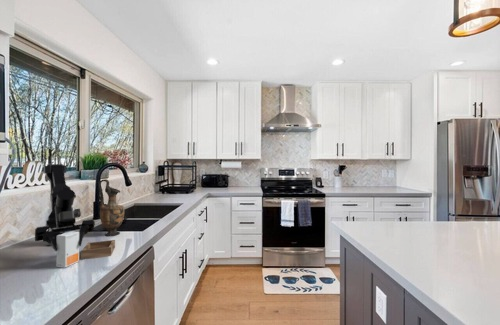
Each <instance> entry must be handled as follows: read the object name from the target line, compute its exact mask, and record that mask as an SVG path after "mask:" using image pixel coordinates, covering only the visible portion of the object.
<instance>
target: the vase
mask: <svg viewBox="0 0 500 325" xmlns="http://www.w3.org/2000/svg"><path fill="white" fill-rule="evenodd" d="M103 182H105V183H106V184H105V187H104V188H105V189H104V192H105V193H106V194H107V196H108V200H107V201H108V202H107V204H106V205H105V202H104V201H105V200H104V193H103V188H102V183H103ZM97 185H98V192H99V198H100V204H99V220H100V222H101V225H102V226H103V227H104V228H105V229H107V233H105V234H104V236H105V237H114V236H118V235H120V234H121V233H120V231H118V228H119V227H120V226H121V225H122V223H123V222H124V218H125V207H124V205H120V204H118V203H117V195H118V194H121V190H120V189H117V188H115V187H112V186H110V181H109V180H108V179H101V180H99V182H98V183H97Z"/></svg>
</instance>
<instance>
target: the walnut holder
mask: <svg viewBox="0 0 500 325" xmlns="http://www.w3.org/2000/svg"><path fill="white" fill-rule="evenodd" d="M115 248H116V239H110V240H101V241H92V242H91V241H90V242H87V244H86V245H85V246H84V247H83V248H82V249H81V251H80V258H81V261H83V260H88V259H96V258H97V259H98V258H104V257H112V255H113V253H114V250H115Z"/></svg>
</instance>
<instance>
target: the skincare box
mask: <svg viewBox="0 0 500 325" xmlns="http://www.w3.org/2000/svg"><path fill="white" fill-rule="evenodd" d="M55 259H56V265H55V266H56V267H57V268H65V269H66V268H68V267H70V266H72V265H74V264H76V263H78V262H80V246H79V231H76V230H74V231H68V232H65V233H63V234H61V235H57V251H56V258H55Z"/></svg>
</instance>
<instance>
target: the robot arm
mask: <svg viewBox="0 0 500 325" xmlns="http://www.w3.org/2000/svg"><path fill="white" fill-rule="evenodd" d="M43 173H44V175H45V178H46V180H47V181H48V182H49V186H50V196H49V198H50V199H49V200H50V201H49V202H50V205H51V206H50V207H51V211H50V213H49V214H48V216H47V220H46V221H45V225H44V226H36V227H35V229H34V240H35V242H39V241H42V242H46V243H47V244H46V247H50V246H51V247H52V248H51V249H53V250H54V251H55V252H57V235H61V234H63V233H67V232H70V231H78V230H79V231H78V232H79V247H81V246H82V243H83V239H84V237H85V235H87V234H88V233H90V232H93V231H94V228H95V224H96V222H95V220H94V219H92V218H91V219H85V220H82V222H81V223H80V224H76V223H77V221H76V218H80V217H81V216H82V214H81V208H74V210H73V205H74V201H75V198H76V197H77V195H76V194H75V191H74V190H73V189H71V187H70V186H69V185H67V182H66V178H65V174H66V173H67V165H65V164H63V163H48V164H46V165H44V166H43Z"/></svg>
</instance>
